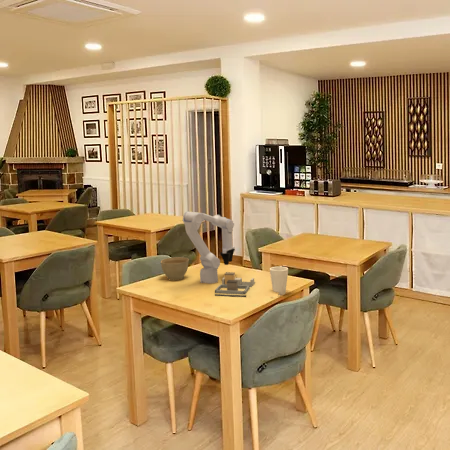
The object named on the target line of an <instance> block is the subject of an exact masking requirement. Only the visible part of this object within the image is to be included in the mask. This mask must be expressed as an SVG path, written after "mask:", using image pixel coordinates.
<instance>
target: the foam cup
mask: <svg viewBox="0 0 450 450" xmlns="http://www.w3.org/2000/svg"><path fill="white" fill-rule="evenodd" d="M269 274H270V281H271V286H272V287H271V288H272V291H273V292H275V293H277V295H278V296H279V295H280V296H283V295H285V294H286V292H287V286H288V285H287V284H288V276H289V275H288V274H289V268H288V267H286V266H272V267H269Z"/></svg>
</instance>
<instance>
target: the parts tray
mask: <svg viewBox="0 0 450 450" xmlns="http://www.w3.org/2000/svg"><path fill="white" fill-rule="evenodd" d="M250 288H251V287H250V286H246V285H238V291H230V290H227V285H222V284H219V285H218V286H217V287H216V288H215V289H214V296H215V297H229V298H230V297H231V298H246V297H247V295H246V294H247V292H248V291H250ZM225 289H226V290H225ZM239 289H243V290H239Z"/></svg>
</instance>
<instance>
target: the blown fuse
mask: <svg viewBox="0 0 450 450" xmlns="http://www.w3.org/2000/svg"><path fill="white" fill-rule="evenodd" d="M226 290H230V291H239V288H238V280H228V281H227V288H226Z"/></svg>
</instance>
